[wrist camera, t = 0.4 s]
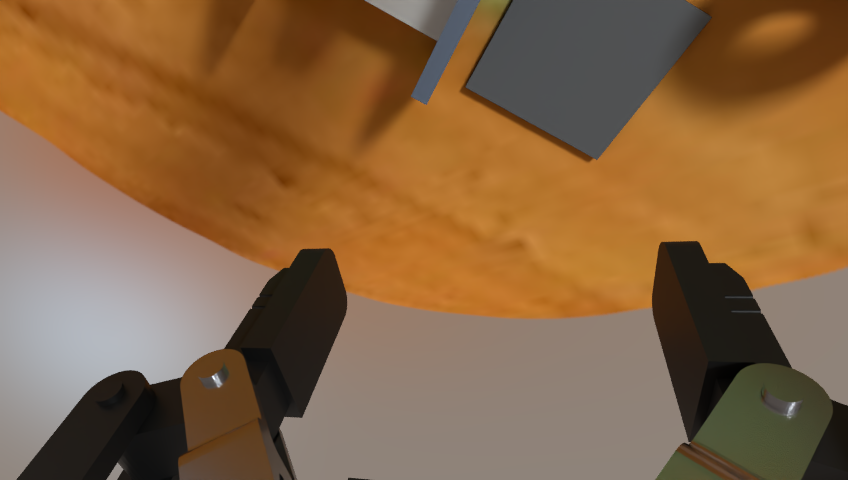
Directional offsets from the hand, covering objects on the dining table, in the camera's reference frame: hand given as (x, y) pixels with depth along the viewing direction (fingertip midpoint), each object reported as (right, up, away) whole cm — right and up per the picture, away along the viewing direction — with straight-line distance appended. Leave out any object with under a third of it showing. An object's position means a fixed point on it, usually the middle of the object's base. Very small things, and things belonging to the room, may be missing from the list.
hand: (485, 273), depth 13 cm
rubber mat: (+9, +13, +21) cm, 26 cm away
